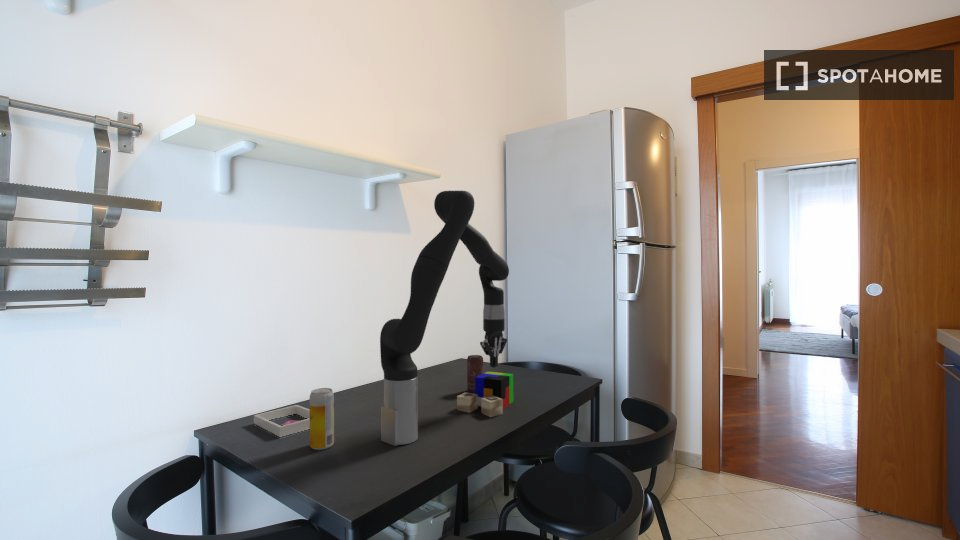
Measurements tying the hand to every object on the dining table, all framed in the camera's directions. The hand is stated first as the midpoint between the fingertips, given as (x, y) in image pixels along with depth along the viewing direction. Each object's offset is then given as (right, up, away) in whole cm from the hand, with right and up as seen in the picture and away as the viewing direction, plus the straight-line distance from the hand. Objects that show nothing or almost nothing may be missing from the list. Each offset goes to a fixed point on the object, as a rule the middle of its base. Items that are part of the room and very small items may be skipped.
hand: (494, 366), depth 155 cm
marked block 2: (-1, -13, -11) cm, 17 cm away
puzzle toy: (0, -13, 0) cm, 13 cm away
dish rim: (-63, -13, -22) cm, 68 cm away
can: (-7, -13, +15) cm, 21 cm away
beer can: (-47, -13, -37) cm, 62 cm away
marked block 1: (-9, -13, -7) cm, 17 cm away
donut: (-59, -14, -25) cm, 66 cm away
